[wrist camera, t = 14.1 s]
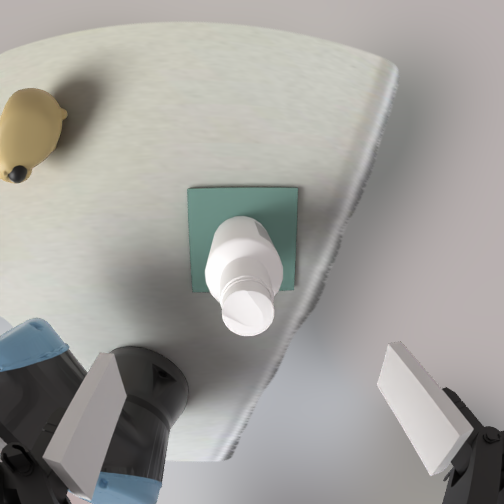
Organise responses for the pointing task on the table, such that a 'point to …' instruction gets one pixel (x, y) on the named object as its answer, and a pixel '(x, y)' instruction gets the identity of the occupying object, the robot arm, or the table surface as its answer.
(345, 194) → the table surface
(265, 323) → the spray bottle
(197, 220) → the mat
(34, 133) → the toy pig
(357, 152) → the table surface
